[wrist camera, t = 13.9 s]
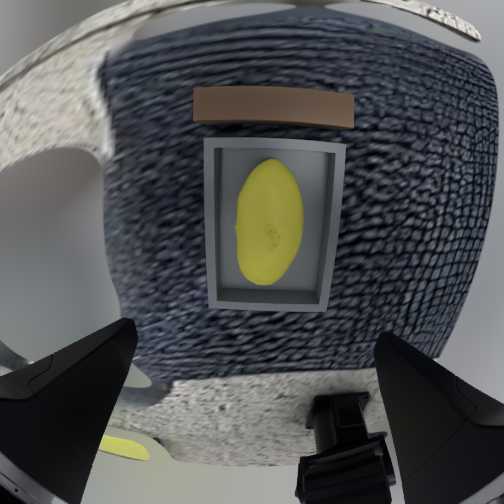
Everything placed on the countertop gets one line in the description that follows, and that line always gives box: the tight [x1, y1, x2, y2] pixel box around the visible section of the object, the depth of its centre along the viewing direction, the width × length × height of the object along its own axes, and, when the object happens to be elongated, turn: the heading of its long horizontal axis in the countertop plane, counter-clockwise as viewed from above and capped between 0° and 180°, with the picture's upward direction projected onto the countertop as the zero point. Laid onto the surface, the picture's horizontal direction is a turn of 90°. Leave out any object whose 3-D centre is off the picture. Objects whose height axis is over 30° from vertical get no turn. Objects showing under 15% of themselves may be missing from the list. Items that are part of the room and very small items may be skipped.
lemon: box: [234, 159, 304, 285], centre depth 16 cm, size 4×8×4 cm, turn 171°
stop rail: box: [193, 86, 354, 131], centre depth 15 cm, size 2×9×3 cm, turn 89°
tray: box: [204, 137, 346, 312], centre depth 18 cm, size 11×8×2 cm
